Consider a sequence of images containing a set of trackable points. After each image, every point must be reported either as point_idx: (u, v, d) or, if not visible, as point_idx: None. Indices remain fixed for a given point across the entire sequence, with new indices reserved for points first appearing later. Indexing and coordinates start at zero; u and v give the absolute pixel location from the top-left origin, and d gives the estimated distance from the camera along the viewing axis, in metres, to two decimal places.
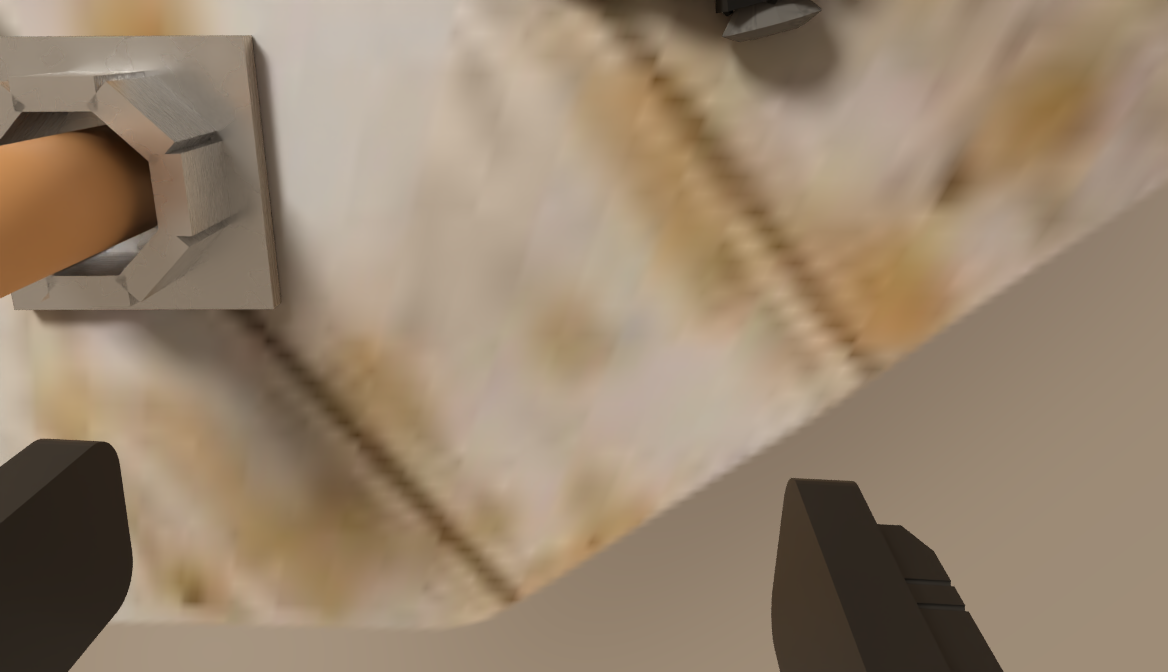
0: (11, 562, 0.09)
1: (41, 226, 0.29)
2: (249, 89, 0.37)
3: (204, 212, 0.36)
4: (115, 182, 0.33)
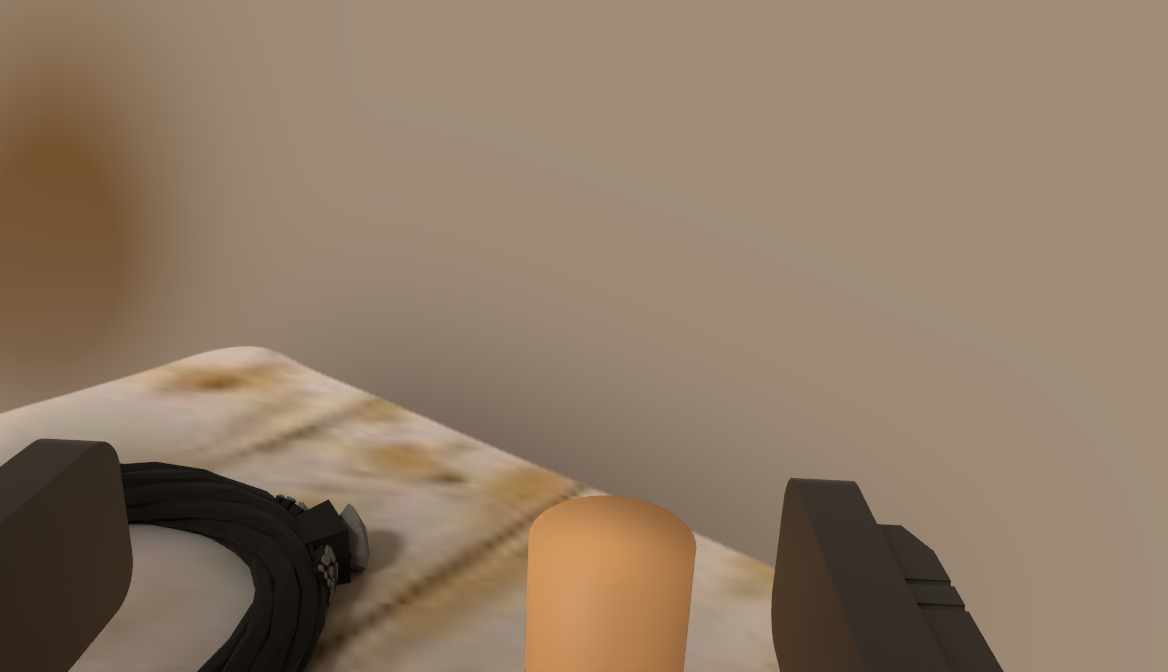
0: (9, 561, 0.09)
1: None
2: None
3: None
4: None
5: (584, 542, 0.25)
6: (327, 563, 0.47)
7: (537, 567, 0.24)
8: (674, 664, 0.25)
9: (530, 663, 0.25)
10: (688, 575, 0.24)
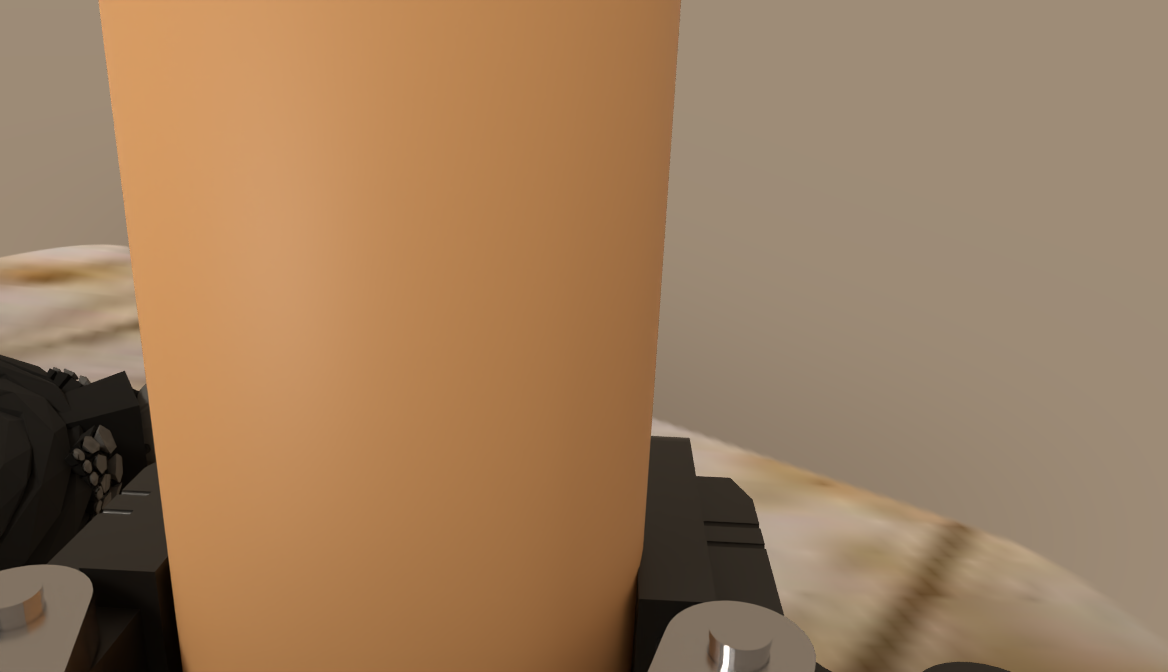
0: None
1: None
2: None
3: None
4: None
5: None
6: (93, 449, 0.30)
7: None
8: (617, 338, 0.07)
9: (144, 366, 0.08)
10: None
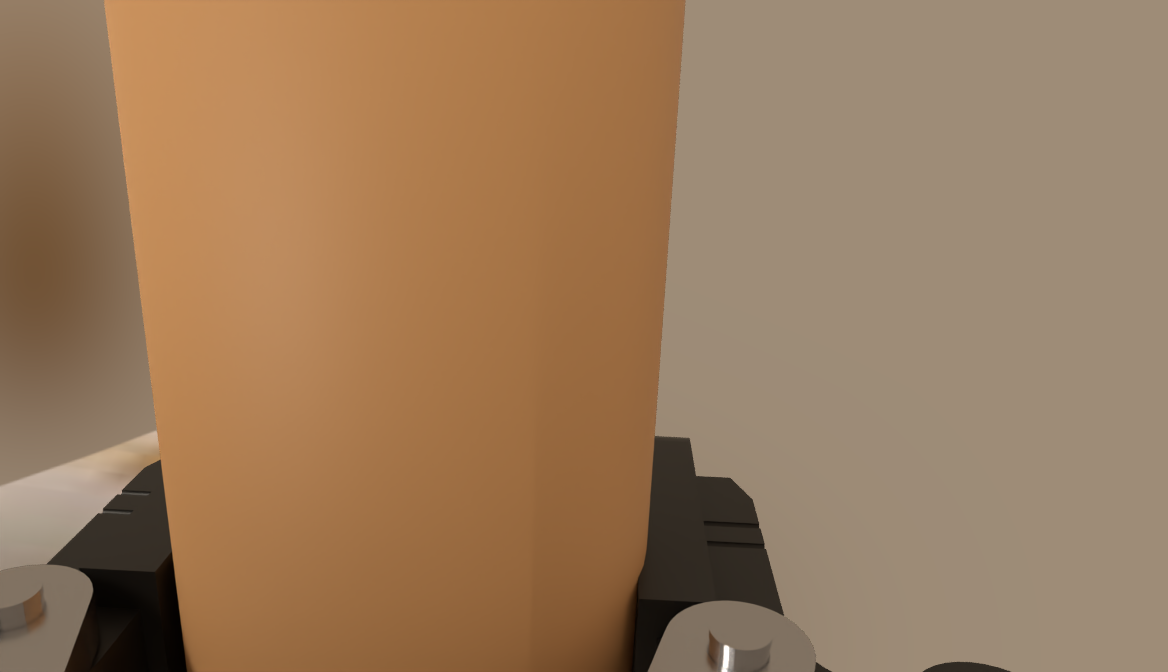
0: None
1: None
2: None
3: None
4: None
5: None
6: None
7: None
8: (621, 338, 0.07)
9: (149, 366, 0.08)
10: None
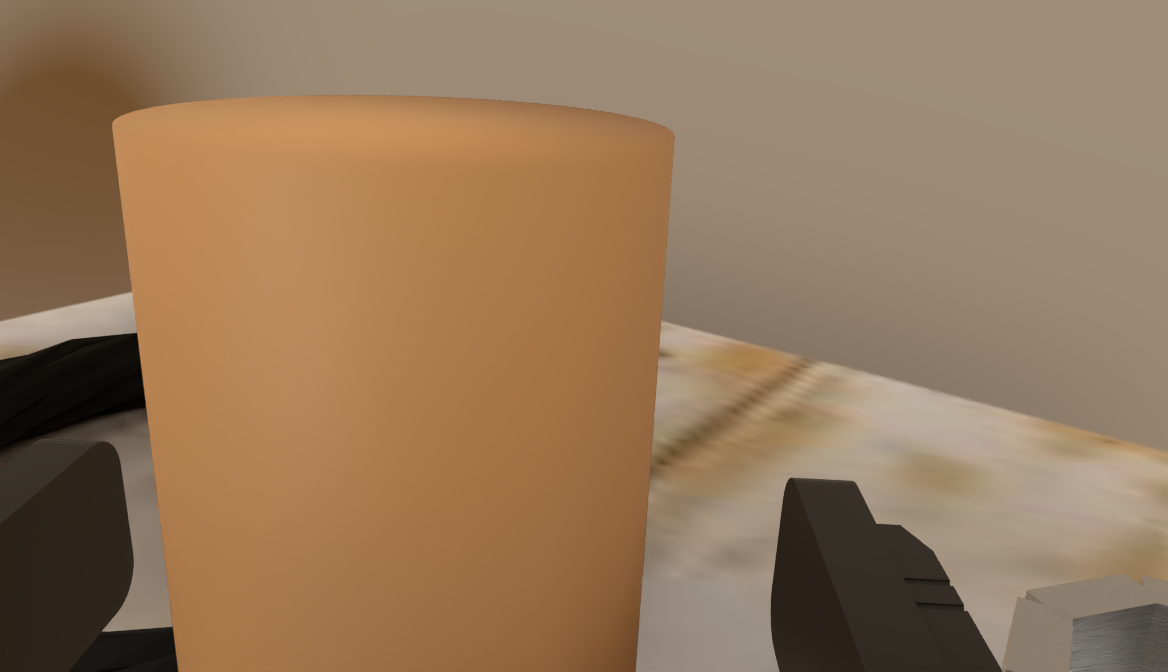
0: (12, 561, 0.09)
1: None
2: None
3: None
4: None
5: (311, 119, 0.08)
6: None
7: (118, 161, 0.07)
8: (609, 517, 0.08)
9: (161, 532, 0.08)
10: (649, 192, 0.07)
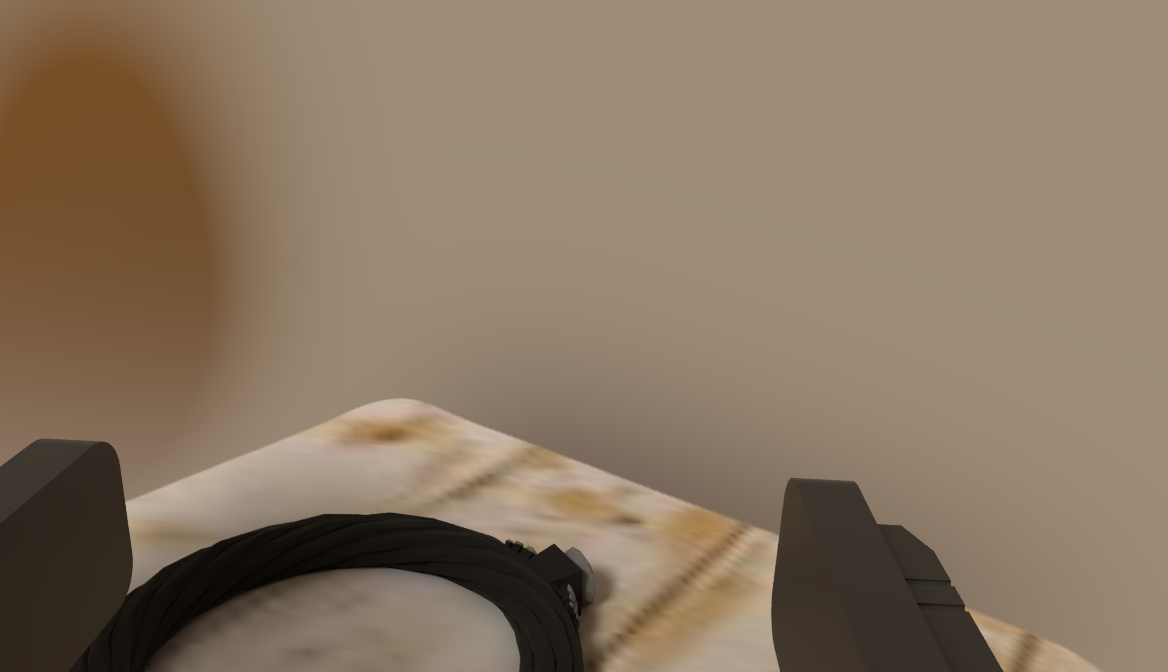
0: (9, 562, 0.09)
1: None
2: None
3: None
4: None
5: None
6: (574, 600, 0.56)
7: None
8: None
9: None
10: None
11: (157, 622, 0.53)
